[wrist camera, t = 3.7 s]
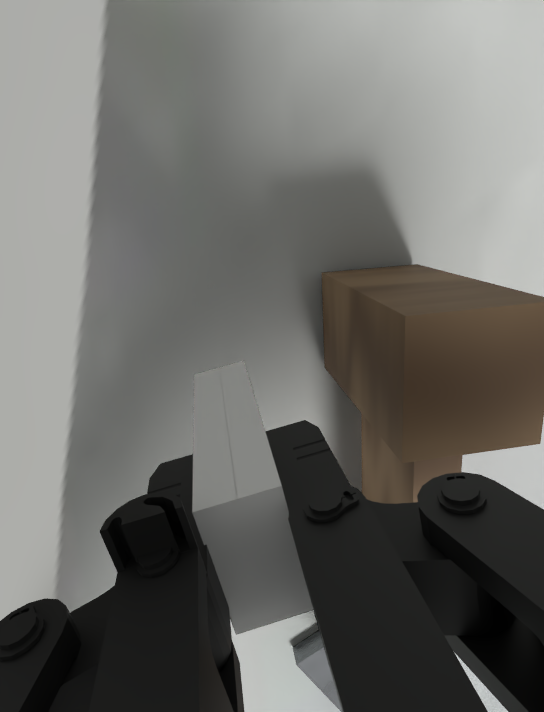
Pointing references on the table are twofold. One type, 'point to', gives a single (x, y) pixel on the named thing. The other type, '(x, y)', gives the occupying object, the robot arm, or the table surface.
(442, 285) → the wooden mallet
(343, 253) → the table surface
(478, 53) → the table surface
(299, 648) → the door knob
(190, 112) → the table surface
